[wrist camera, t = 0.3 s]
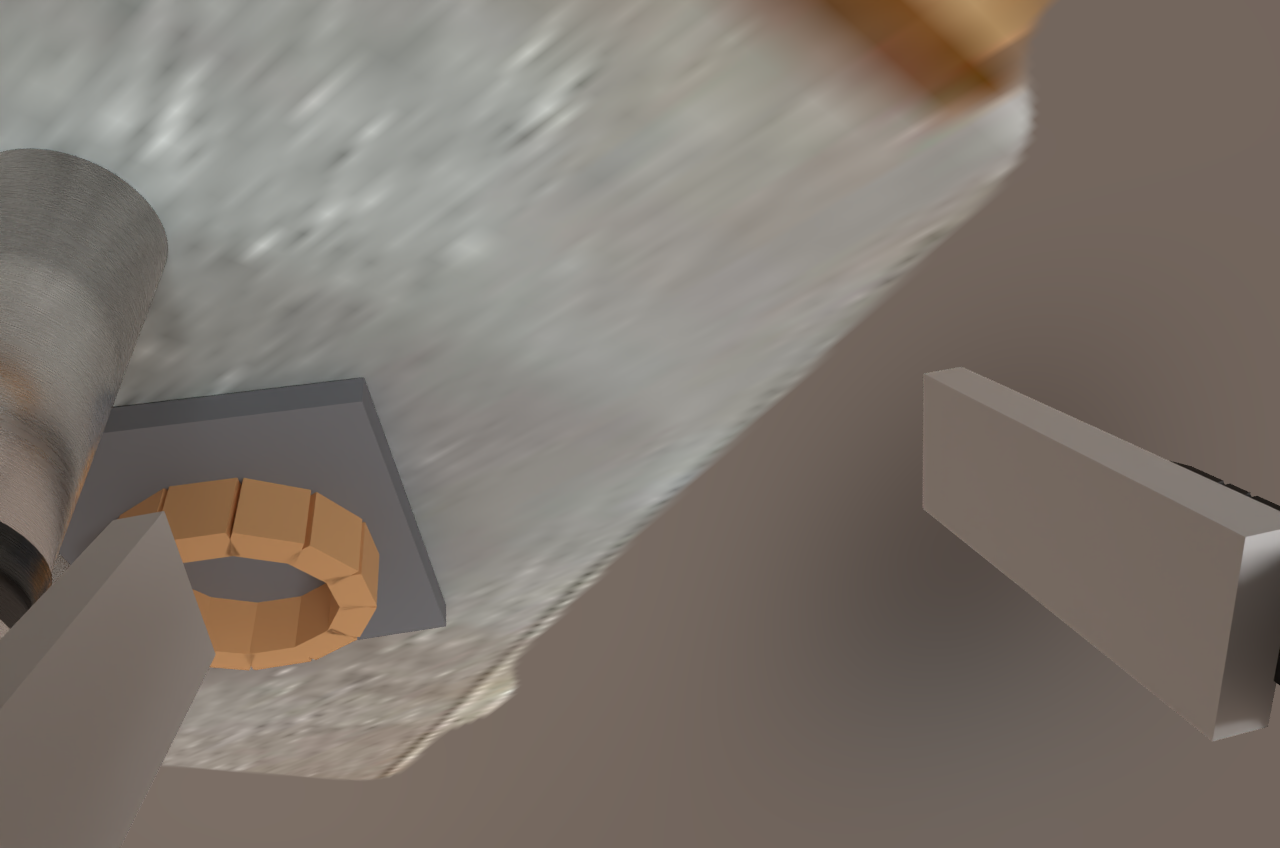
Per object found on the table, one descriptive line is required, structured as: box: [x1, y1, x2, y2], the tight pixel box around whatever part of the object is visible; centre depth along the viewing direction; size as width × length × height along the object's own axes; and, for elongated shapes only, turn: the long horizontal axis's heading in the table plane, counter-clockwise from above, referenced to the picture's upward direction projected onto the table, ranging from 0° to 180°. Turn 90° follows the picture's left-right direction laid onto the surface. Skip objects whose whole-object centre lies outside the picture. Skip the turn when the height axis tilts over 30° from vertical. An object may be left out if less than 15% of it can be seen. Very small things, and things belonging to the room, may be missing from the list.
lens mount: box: [59, 378, 446, 670], centre depth 33 cm, size 16×13×4 cm
